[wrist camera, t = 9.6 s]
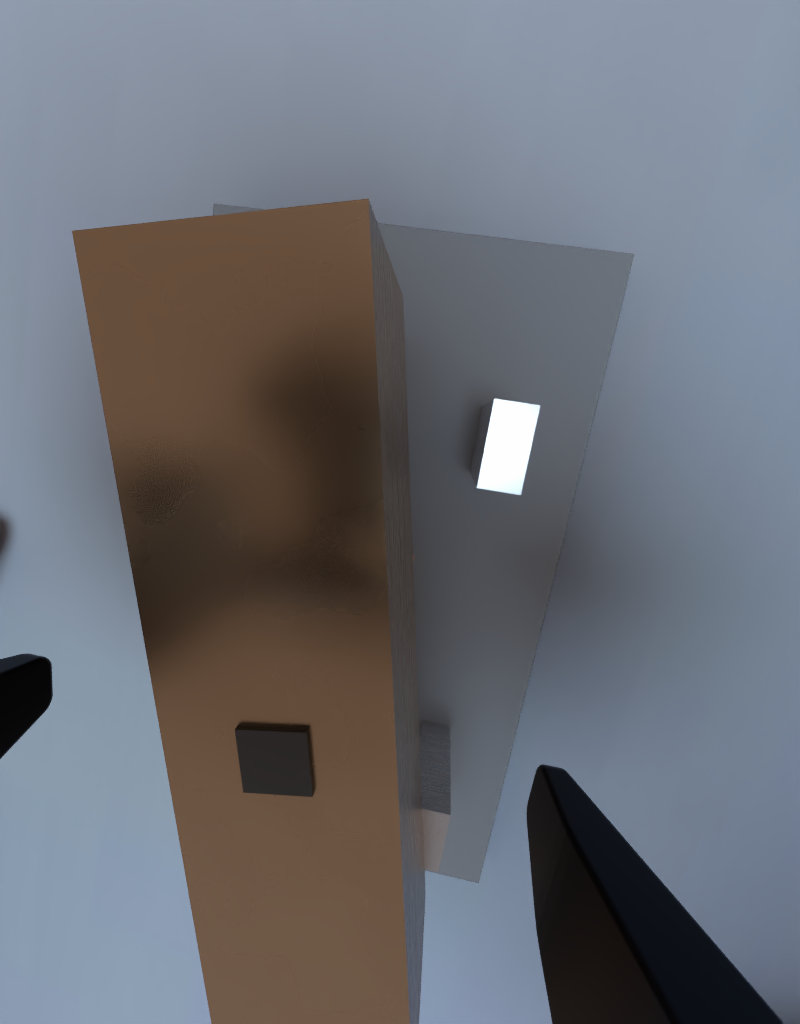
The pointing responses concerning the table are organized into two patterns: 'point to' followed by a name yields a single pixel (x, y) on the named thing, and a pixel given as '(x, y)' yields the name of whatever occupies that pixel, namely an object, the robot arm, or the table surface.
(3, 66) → the table surface
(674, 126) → the table surface
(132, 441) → the tan wooden bar
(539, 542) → the plate
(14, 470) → the table surface
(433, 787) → the set of grey blocks
